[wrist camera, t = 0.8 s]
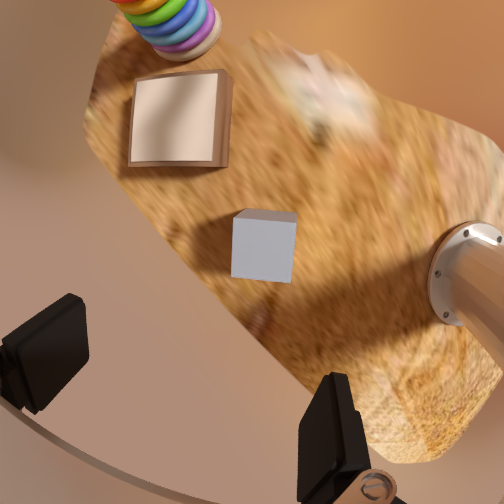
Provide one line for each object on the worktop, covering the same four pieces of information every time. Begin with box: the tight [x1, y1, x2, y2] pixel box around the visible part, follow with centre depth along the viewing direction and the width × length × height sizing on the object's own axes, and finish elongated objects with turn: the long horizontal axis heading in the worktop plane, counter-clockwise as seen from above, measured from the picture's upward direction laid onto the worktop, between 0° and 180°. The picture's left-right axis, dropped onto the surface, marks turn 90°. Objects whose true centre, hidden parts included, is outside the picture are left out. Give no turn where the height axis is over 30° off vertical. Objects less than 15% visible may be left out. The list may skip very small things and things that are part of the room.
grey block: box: [231, 208, 297, 283], centre depth 26 cm, size 5×5×6 cm
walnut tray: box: [128, 69, 233, 167], centre depth 25 cm, size 9×9×4 cm
